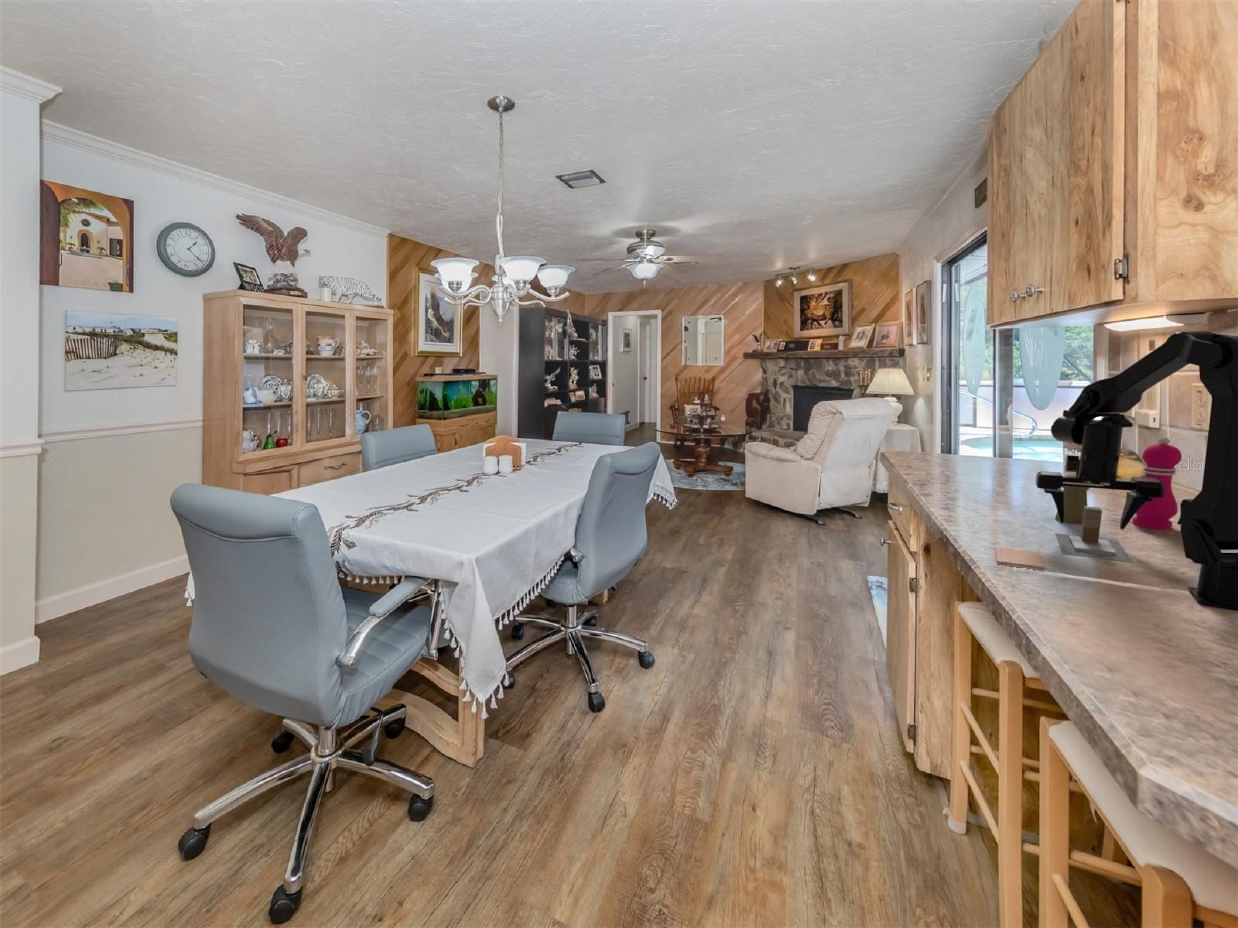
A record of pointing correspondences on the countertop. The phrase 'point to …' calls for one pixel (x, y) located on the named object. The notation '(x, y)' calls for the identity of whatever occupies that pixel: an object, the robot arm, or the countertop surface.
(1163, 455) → the pepper mill
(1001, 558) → the tile
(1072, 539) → the brown post on base
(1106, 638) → the countertop surface
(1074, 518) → the cork
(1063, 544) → the mat
